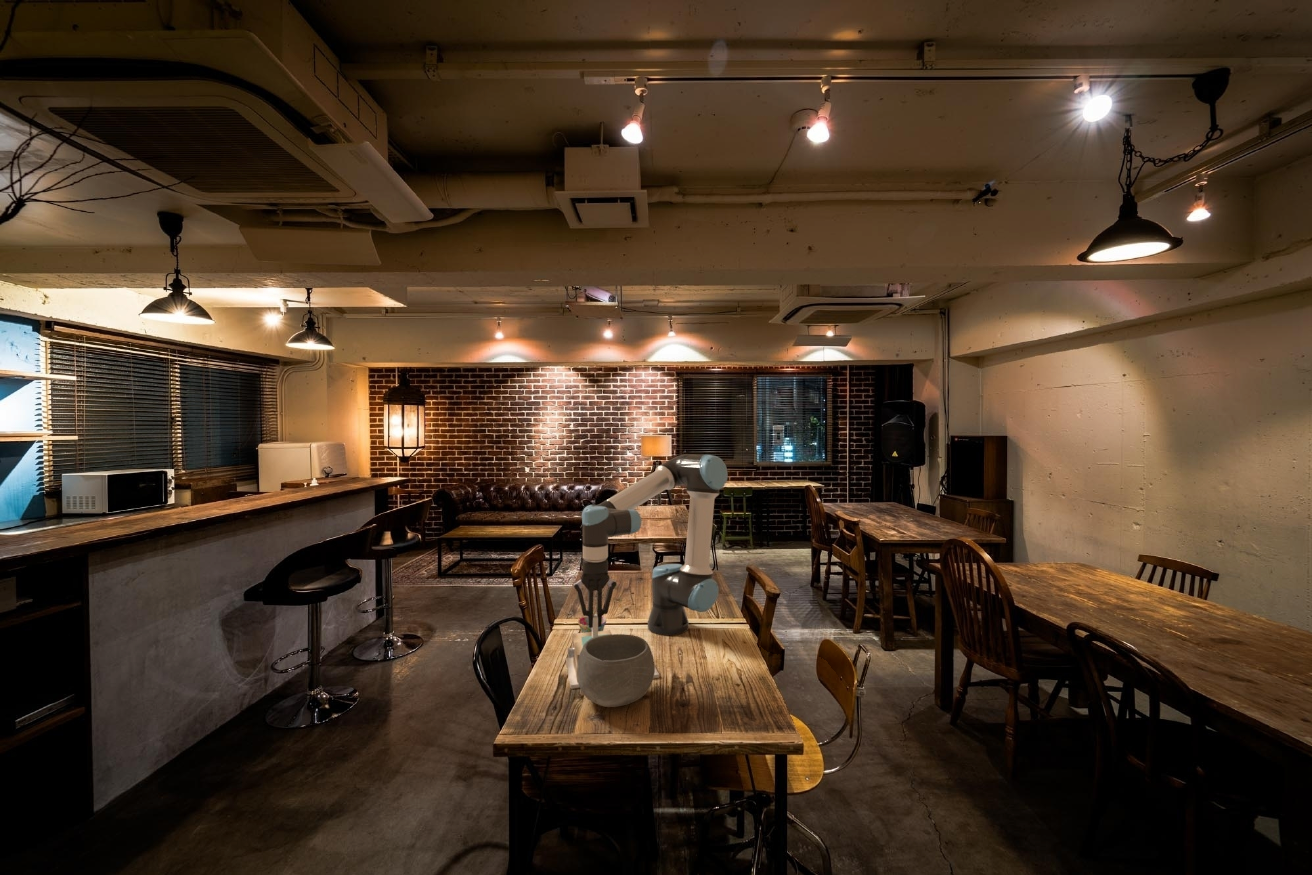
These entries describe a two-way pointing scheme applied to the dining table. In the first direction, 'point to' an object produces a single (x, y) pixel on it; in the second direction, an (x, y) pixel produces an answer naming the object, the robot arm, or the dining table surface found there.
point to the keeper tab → (586, 638)
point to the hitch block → (578, 647)
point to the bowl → (615, 669)
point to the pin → (570, 652)
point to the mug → (585, 627)
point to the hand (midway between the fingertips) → (594, 637)
